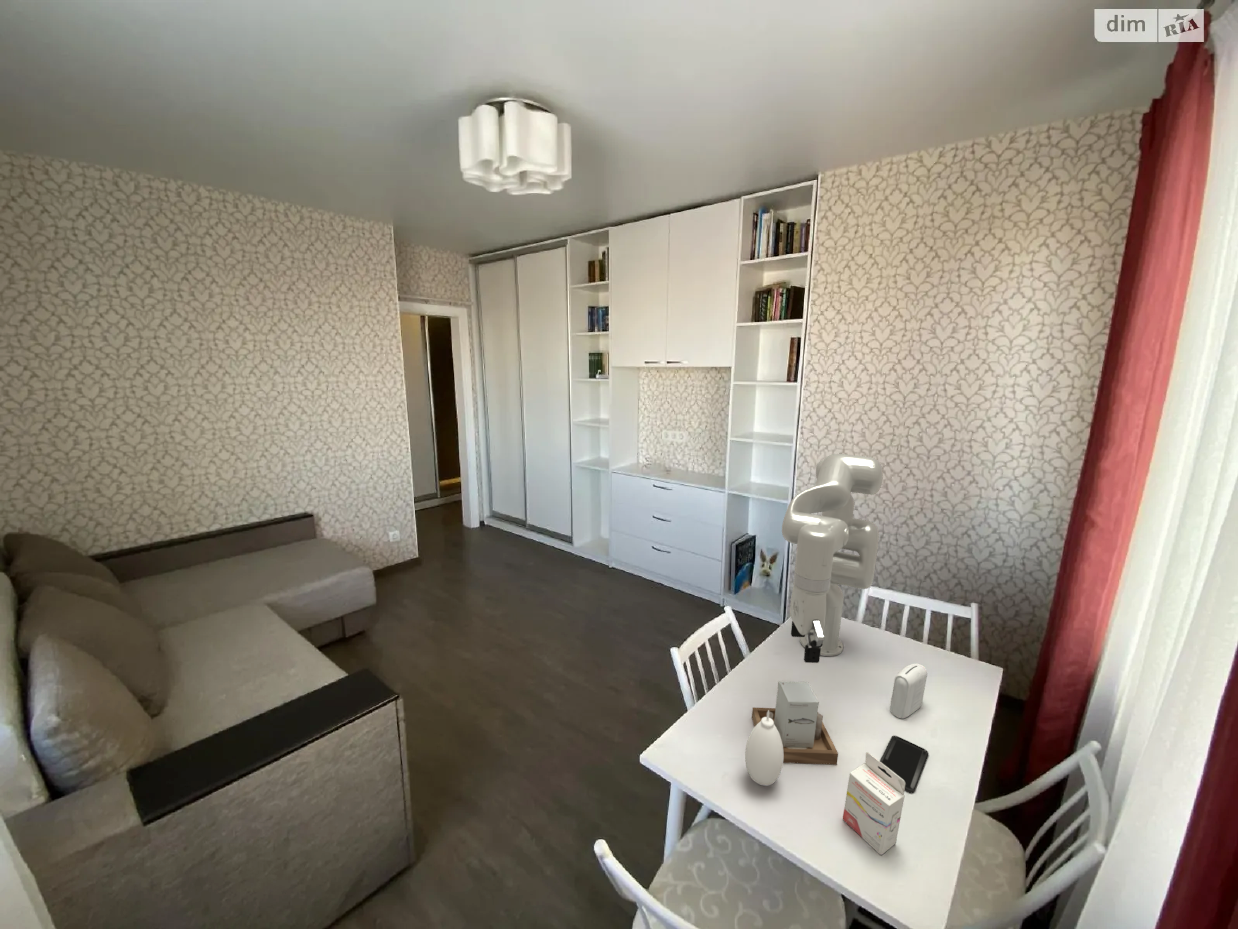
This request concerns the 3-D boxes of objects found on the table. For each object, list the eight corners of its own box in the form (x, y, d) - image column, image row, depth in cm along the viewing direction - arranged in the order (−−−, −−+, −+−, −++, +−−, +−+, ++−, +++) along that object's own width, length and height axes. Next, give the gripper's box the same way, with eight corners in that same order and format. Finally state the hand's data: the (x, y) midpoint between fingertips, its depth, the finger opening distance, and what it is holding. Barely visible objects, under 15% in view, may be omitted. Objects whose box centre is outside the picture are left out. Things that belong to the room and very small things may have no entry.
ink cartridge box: (841, 820, 101) (849, 758, 97) (856, 809, 103) (865, 749, 100) (881, 857, 93) (892, 792, 90) (897, 844, 96) (908, 781, 92)
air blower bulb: (750, 760, 115) (756, 692, 110) (785, 776, 111) (792, 706, 106) (738, 784, 108) (743, 713, 104) (774, 803, 104) (782, 729, 100)
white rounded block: (907, 697, 136) (914, 656, 133) (924, 706, 133) (931, 665, 130) (886, 711, 130) (893, 670, 128) (903, 722, 127) (910, 679, 124)
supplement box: (782, 748, 117) (787, 701, 114) (773, 724, 124) (777, 680, 121) (814, 749, 117) (819, 702, 114) (803, 725, 124) (808, 680, 121)
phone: (929, 751, 117) (913, 792, 106) (928, 755, 117) (913, 796, 106) (892, 733, 122) (873, 771, 111) (891, 737, 122) (873, 775, 112)
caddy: (751, 717, 128) (753, 693, 126) (815, 719, 127) (818, 695, 126) (765, 762, 114) (767, 736, 113) (836, 764, 114) (840, 738, 112)
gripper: (783, 563, 120) (777, 627, 124) (807, 599, 103) (799, 672, 107) (815, 564, 120) (808, 628, 124) (844, 600, 103) (835, 673, 107)
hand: (804, 648), depth 116 cm, fingers open, 9 cm apart
